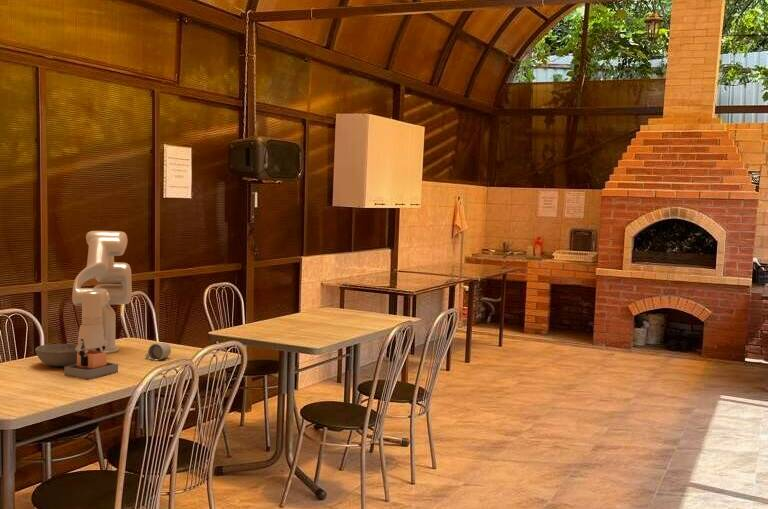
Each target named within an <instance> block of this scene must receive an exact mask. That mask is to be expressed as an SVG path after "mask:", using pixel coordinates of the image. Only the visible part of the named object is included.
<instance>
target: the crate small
mask: <svg viewBox="0 0 768 509" xmlns="http://www.w3.org/2000/svg"><path fill="white" fill-rule="evenodd" d="M84 353H85V351H84ZM107 356H108V353H107V352H103V351H97V350H89V351H88V353H87V357H88V366H81V356H79V354H78V352H77V363H76V364H77V367H81V368H87V369H97V368H101V367H105V366H107Z"/></svg>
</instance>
